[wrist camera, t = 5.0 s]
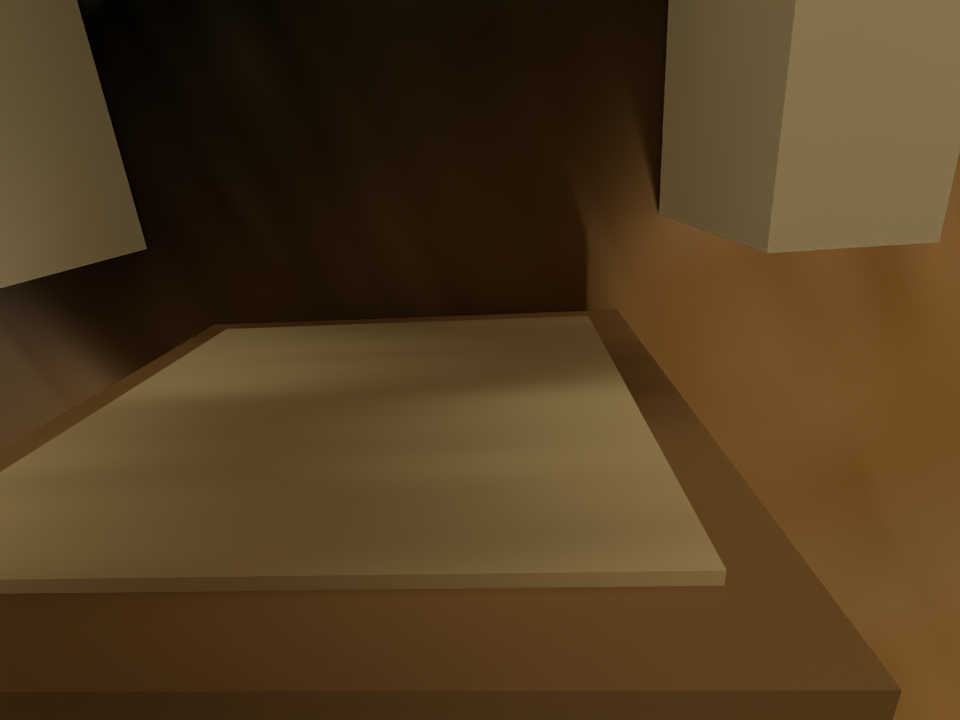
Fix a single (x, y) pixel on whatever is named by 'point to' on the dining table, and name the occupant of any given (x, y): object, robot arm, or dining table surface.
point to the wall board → (685, 142)
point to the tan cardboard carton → (407, 540)
